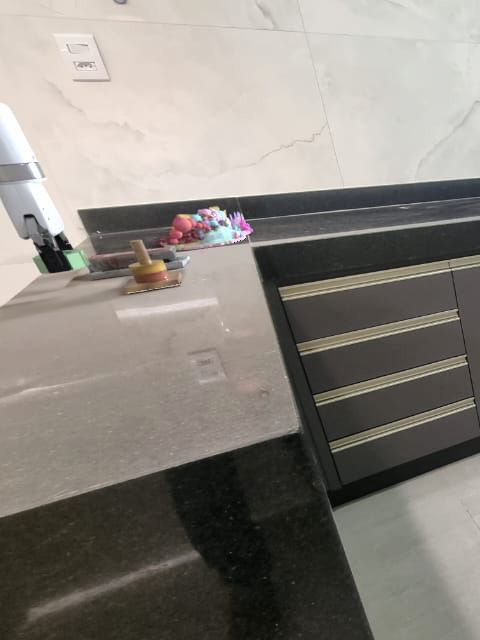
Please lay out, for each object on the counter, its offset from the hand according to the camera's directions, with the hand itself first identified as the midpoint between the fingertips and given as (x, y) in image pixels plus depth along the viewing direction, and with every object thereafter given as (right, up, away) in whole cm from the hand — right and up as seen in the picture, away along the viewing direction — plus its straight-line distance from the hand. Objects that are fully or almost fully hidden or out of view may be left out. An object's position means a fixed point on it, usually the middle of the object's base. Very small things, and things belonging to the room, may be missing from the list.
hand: (65, 267), depth 106 cm
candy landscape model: (-15, +18, +54) cm, 59 cm away
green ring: (0, 0, 0) cm, 0 cm away
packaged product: (-7, +3, +24) cm, 25 cm away
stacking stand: (+9, -2, +11) cm, 14 cm away
